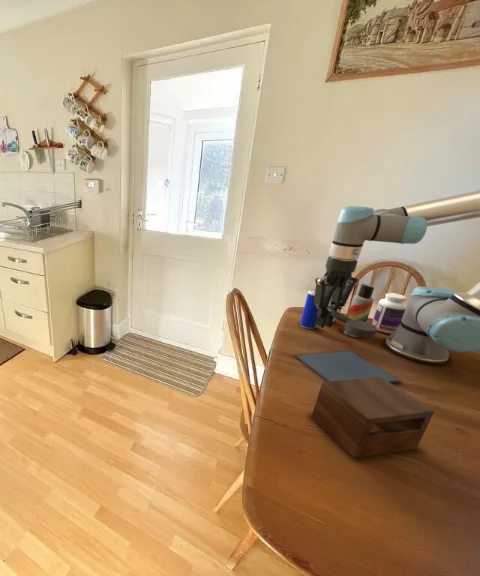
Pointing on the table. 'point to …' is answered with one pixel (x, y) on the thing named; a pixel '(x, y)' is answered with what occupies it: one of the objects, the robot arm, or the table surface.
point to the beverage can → (309, 311)
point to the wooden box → (370, 416)
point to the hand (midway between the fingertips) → (323, 325)
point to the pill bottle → (389, 313)
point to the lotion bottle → (361, 305)
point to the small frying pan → (354, 325)
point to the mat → (343, 366)
